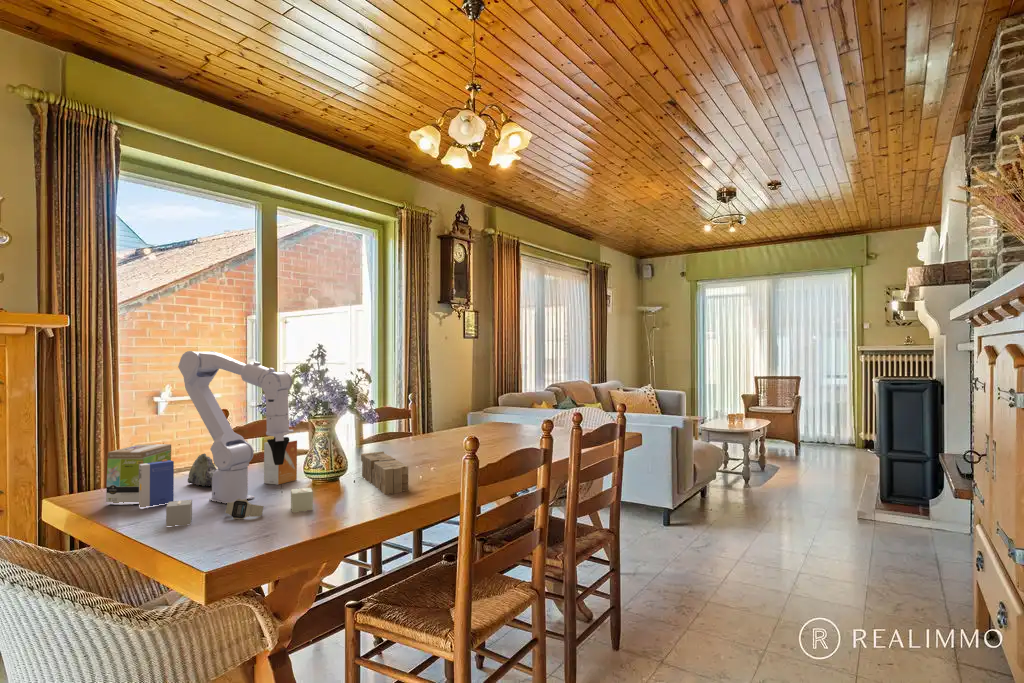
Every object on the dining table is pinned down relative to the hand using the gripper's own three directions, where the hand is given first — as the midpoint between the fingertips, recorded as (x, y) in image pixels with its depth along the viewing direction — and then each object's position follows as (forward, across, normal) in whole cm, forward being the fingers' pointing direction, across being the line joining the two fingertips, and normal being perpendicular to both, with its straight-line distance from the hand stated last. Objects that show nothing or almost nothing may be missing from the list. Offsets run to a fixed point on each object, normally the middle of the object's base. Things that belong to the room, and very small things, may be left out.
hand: (278, 464), depth 159 cm
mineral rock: (+10, +33, +20) cm, 39 cm away
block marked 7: (+11, -10, -5) cm, 16 cm away
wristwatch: (+11, -10, +9) cm, 17 cm away
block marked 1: (+10, -10, +23) cm, 27 cm away
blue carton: (+10, +12, +30) cm, 34 cm away
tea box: (+9, +23, +36) cm, 43 cm away
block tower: (+12, +11, -31) cm, 35 cm away
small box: (+10, +28, -2) cm, 30 cm away
